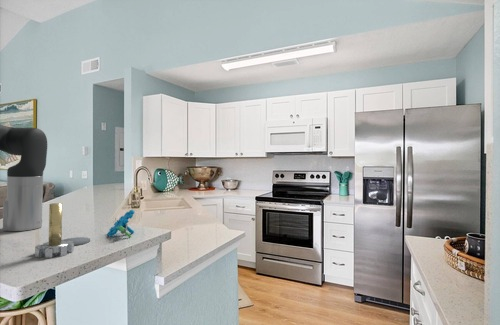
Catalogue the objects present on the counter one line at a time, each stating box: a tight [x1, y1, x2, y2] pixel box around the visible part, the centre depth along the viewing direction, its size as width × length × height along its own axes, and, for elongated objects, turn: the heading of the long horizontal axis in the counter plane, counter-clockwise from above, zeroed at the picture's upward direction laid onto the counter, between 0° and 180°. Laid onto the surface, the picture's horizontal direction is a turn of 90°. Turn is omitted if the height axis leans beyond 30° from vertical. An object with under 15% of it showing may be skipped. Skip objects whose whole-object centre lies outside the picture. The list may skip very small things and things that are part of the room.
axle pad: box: [63, 236, 91, 247], centre depth 76 cm, size 8×8×1 cm
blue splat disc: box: [106, 209, 135, 238], centre depth 85 cm, size 11×6×10 cm
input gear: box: [34, 202, 75, 259], centre depth 68 cm, size 8×8×12 cm
